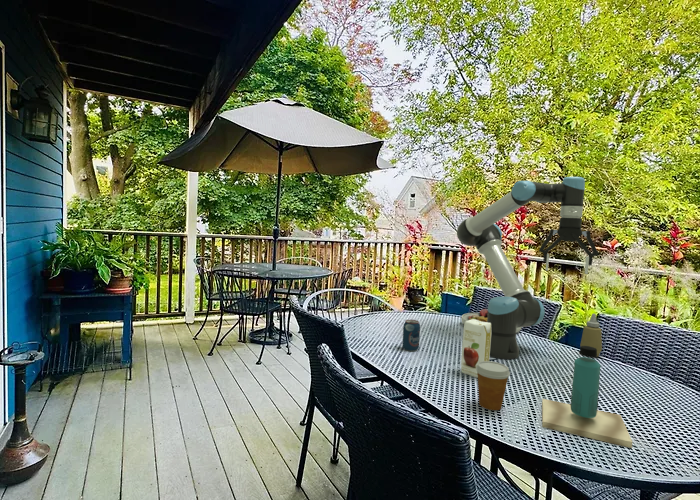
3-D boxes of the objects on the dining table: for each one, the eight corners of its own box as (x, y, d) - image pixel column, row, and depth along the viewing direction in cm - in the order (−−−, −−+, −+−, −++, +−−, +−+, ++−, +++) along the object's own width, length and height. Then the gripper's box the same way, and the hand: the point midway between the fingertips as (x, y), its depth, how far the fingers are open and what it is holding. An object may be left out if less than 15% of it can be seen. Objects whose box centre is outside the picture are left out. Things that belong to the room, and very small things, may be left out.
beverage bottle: (600, 425, 106) (607, 352, 105) (573, 421, 108) (580, 349, 106) (590, 414, 113) (597, 344, 111) (565, 410, 114) (571, 342, 113)
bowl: (531, 338, 194) (532, 322, 194) (469, 335, 195) (471, 319, 194) (508, 322, 224) (509, 309, 224) (454, 320, 225) (455, 306, 224)
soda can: (411, 353, 163) (413, 324, 162) (398, 348, 169) (400, 320, 168) (422, 349, 168) (423, 321, 167) (409, 345, 173) (411, 318, 172)
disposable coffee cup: (468, 398, 123) (471, 360, 122) (498, 398, 124) (501, 360, 123) (481, 413, 114) (484, 372, 113) (513, 413, 114) (516, 372, 113)
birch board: (542, 426, 107) (542, 421, 107) (542, 403, 122) (542, 398, 122) (631, 447, 99) (632, 442, 99) (620, 420, 113) (620, 414, 113)
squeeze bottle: (598, 353, 174) (602, 313, 173) (603, 359, 166) (607, 317, 165) (577, 351, 177) (581, 310, 175) (581, 356, 169) (585, 314, 168)
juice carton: (468, 367, 149) (472, 317, 148) (490, 374, 143) (494, 322, 142) (458, 372, 144) (461, 320, 143) (480, 380, 138) (484, 326, 137)
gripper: (535, 216, 157) (531, 269, 158) (610, 218, 146) (604, 276, 147) (535, 216, 163) (531, 268, 165) (607, 219, 153) (602, 274, 154)
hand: (566, 272), depth 156 cm, fingers open, 13 cm apart
